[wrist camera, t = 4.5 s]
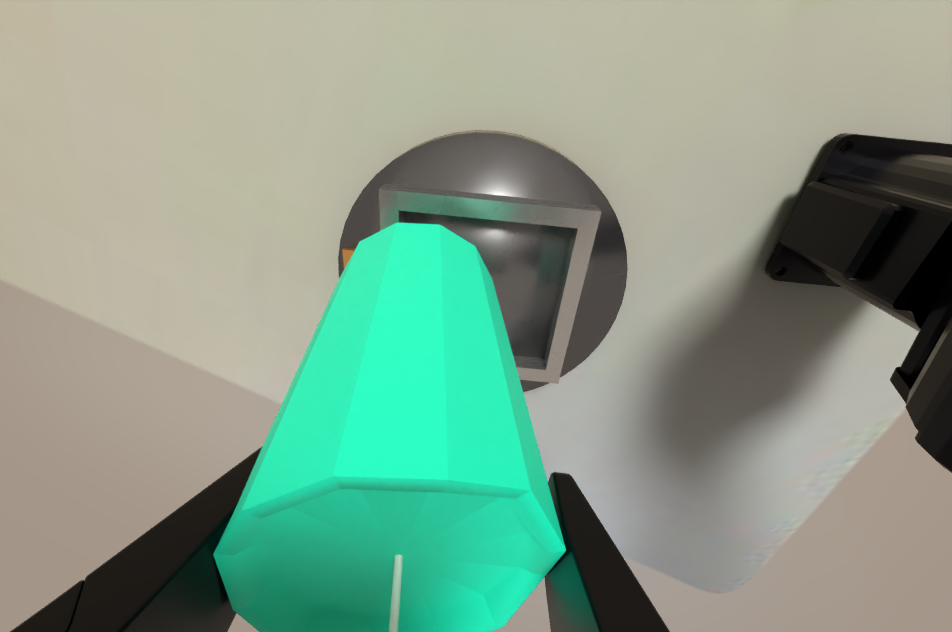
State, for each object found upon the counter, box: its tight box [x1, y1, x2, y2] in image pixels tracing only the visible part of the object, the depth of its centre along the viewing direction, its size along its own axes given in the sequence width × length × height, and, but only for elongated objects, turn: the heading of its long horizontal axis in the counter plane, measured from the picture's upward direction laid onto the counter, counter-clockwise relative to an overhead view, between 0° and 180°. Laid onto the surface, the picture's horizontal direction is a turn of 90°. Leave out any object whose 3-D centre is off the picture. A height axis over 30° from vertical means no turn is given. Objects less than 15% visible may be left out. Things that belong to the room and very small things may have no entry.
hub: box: [338, 130, 627, 392], centre depth 19 cm, size 14×14×2 cm
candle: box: [213, 223, 566, 632], centre depth 11 cm, size 6×6×12 cm
